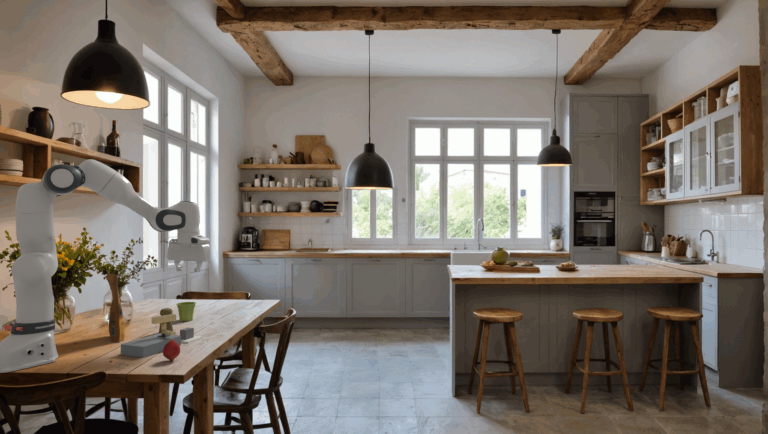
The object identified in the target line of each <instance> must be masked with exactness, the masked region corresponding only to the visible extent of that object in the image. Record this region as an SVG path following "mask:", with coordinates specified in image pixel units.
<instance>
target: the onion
mask: <svg viewBox="0 0 768 434" xmlns="http://www.w3.org/2000/svg"><path fill="white" fill-rule="evenodd" d="M180 353H181V346H179V344H178V343H176V342H175V341H174V339H171V340H170V341H169V342H168V343H167V344H166V345H165V346H164V348H163V352H162V355H163V357H164V358H165V359H166V360H169V361H171V362H172V361H174V360H175V359H176V358H177V357H178V356H179V355H180Z"/></svg>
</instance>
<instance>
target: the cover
mask: <svg viewBox="0 0 768 434" xmlns="http://www.w3.org/2000/svg"><path fill="white" fill-rule="evenodd" d="M194 330H195V327H185V328H181V329H180V330H179V335H180V336H181V344H191V343H194V342H197V341H200V340H202V339H203V337H204V336H199V335H198V336H197V335H195V331H194Z"/></svg>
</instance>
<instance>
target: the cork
mask: <svg viewBox="0 0 768 434" xmlns="http://www.w3.org/2000/svg"><path fill="white" fill-rule="evenodd" d="M170 314H174V313H173V309H172V308H170V307H167V308H166V307H165V308H162V309H160V310H159V316H163V315H170ZM161 325H162V323H159V327H158V334H159V333H161ZM173 327H174V326H173V321H170V322H166V330H169V331H173V332H174V328H173Z"/></svg>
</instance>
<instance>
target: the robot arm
mask: <svg viewBox="0 0 768 434" xmlns="http://www.w3.org/2000/svg"><path fill="white" fill-rule="evenodd" d="M81 187H82V188H87V189H89V190H91V191H93V192H95V193H96V194H97V195H99V196H101V197H103V198H104V199H106V200H109V201H110V202H114V203H116V204H119V205H122V206H125V207H126V208H128V209H130V210H132V211H133V212H135V213H137V214H138V215H139V216H141V217H142V218H143V219H145V220H146V221H147V222H148V224H149V226H150V227H151V228H152V229H153V231H154V230H155V231H156V232H158V233H159V232H160V233H165V232H172V231H175V230H176V231H177V235H176V236H177V237H176V238H171V239H170V240H169V241H168V246H167V252H166V258H167V261H173V264H174V266H175V267H176V268H175V269H176V272H182V271H183V266H181V264H180V263H181V262H196V264H195V265H196V266H195V267H194V268H193V269H194V270H193V271H194V273H200V272H201V267H202V265H203V263H206V262H209V261H210V259H211V246H210V245H209V244H210V243H211V242H210V241H211V239H210V238H209V237H206V236H204V235H201V232H200V231H201V230H200V224H201V215H200V214H201V213H200V206H199V204H197V203H196V202H193V201H189V200H180V201H179V202H177V203H175V204H173V205H171V206H168V207H165V208H161V207H157V206H155V205H153V204H152V203H150V202H149V201H147V200H146V199H144V198H143V197H141V196H140V195H139V194H138V193H137V192H136V191H135V189H134V187H133V185H132V183H131V182H130V180H129V179H127V178H126V177H125V176H124V175H123V174H122V173H120V172H118V171H117V170H115V169H114V168H112V167H111V166H108V165H107V164H104V163H102V162H101V161H98V160H96V159H91V158H90V159H86V160H83V161H82V162H81V163H80V164H79V165H70V164H65V163H61V164H54V165H52V166H49V167H48V169H47V170H45V172H44V174H43V176H42V178H41V180H40V181H38V182H29V183H25V184H22V185H21V186H20V187H19V188H18V190H17V194H16V199H15V237H16V239H17V242H18V246H19V250H20V251H19V252H20V256H18V257H17V258H16V259H15V260H14V262H13V263H12V266H11V270H10V271H11V272H10V273H11V276H12V280H13V288H14V289H13V290H14V294H15V304H16V305H15V306H16V307H15V309H16V310H15V322H14V324H13V325H12V324H5V325H3V329H4V331H8V332H10V333H9V334H8V335H7V336H6V337H5V338H3V339H2V340H1V341H0V374H4V373H10V372H11V373H12V372H15V371H20V370H25V369H28V368H33V367H37V366H42V365H46V364H52V363H54V362H56V360H57V359H58V357H59V353H58V351H57V347H56V340H55V330H56V318H55V314H54V312H55V296H54V292H53V286H52V285H53V284H52V277H53V276H54V275H55V273H56V272H57V270H58V268H59V262H58V254H57V253H58V252H57V246H56V240H55V233H54V228H55V225H54V200H55V198H57V197H60V196H66V195H69V194H71V193H73V192H74V191H75V190H77V189H78V188H81Z"/></svg>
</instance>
